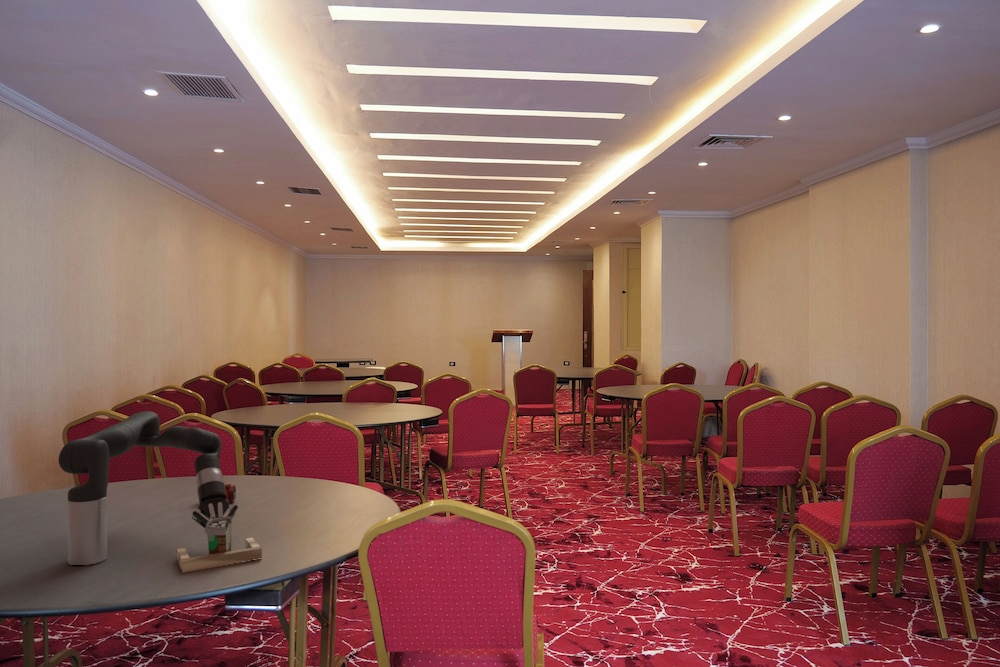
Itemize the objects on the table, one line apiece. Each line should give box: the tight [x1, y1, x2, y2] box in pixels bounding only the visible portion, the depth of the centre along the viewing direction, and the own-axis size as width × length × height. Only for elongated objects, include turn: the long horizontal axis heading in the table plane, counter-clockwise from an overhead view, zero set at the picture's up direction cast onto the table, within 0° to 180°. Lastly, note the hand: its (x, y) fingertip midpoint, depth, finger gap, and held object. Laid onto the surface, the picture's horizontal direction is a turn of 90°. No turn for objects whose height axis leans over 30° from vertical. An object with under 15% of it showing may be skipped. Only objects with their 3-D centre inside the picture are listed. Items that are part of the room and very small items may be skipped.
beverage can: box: [224, 483, 237, 503], centre depth 253 cm, size 7×12×7 cm, turn 104°
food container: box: [204, 516, 233, 555], centre depth 191 cm, size 12×6×10 cm, turn 14°
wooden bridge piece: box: [176, 537, 263, 574], centre depth 190 cm, size 12×20×3 cm, turn 122°
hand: (219, 539), depth 195 cm, fingers closed
